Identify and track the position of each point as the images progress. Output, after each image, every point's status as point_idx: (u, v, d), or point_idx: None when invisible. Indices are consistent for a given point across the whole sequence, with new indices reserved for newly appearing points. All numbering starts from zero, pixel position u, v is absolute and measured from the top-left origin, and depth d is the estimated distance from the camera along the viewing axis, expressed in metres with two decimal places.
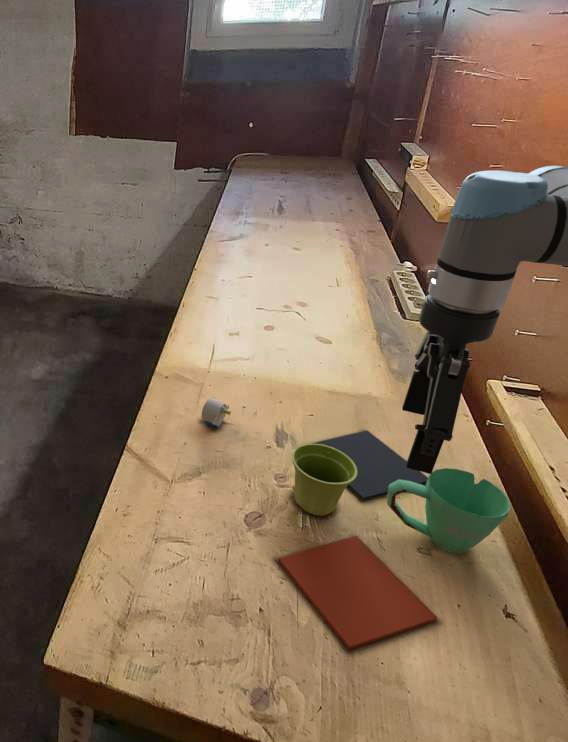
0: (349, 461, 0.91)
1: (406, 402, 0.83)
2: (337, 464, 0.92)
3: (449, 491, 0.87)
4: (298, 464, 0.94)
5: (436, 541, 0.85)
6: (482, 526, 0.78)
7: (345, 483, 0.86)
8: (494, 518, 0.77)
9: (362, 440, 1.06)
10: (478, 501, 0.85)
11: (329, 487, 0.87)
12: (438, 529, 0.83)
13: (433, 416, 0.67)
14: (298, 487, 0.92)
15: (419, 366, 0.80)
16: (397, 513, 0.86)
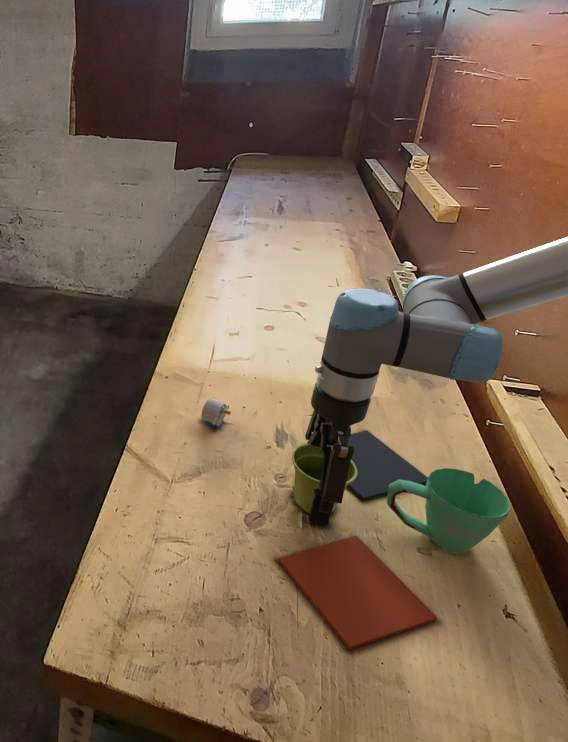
0: None
1: None
2: None
3: (449, 491, 0.87)
4: (298, 464, 0.94)
5: (436, 541, 0.85)
6: (482, 526, 0.78)
7: None
8: (494, 518, 0.77)
9: (362, 440, 1.06)
10: (478, 501, 0.85)
11: None
12: (438, 529, 0.83)
13: (328, 488, 0.83)
14: (298, 487, 0.92)
15: None
16: (397, 513, 0.86)
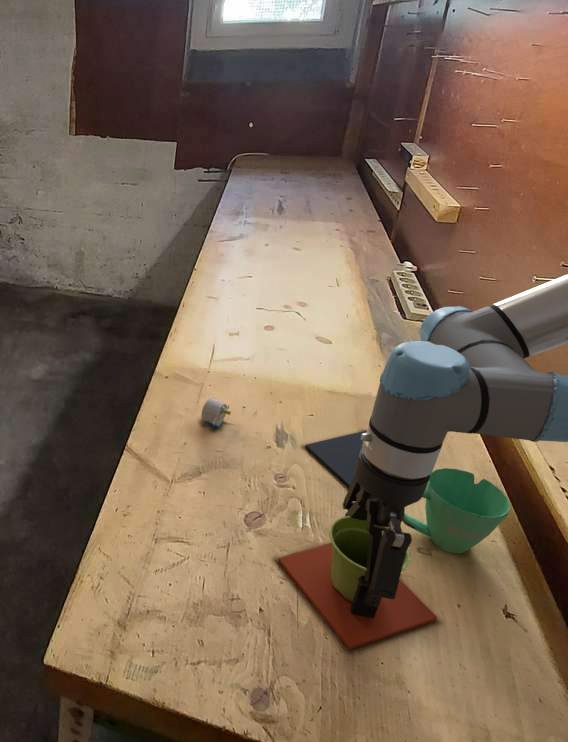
0: None
1: None
2: None
3: (449, 491, 0.87)
4: (336, 541, 0.79)
5: (436, 541, 0.85)
6: (482, 526, 0.78)
7: None
8: (494, 518, 0.77)
9: (362, 440, 1.06)
10: (478, 501, 0.85)
11: None
12: (438, 529, 0.83)
13: (378, 581, 0.68)
14: (337, 570, 0.77)
15: None
16: None
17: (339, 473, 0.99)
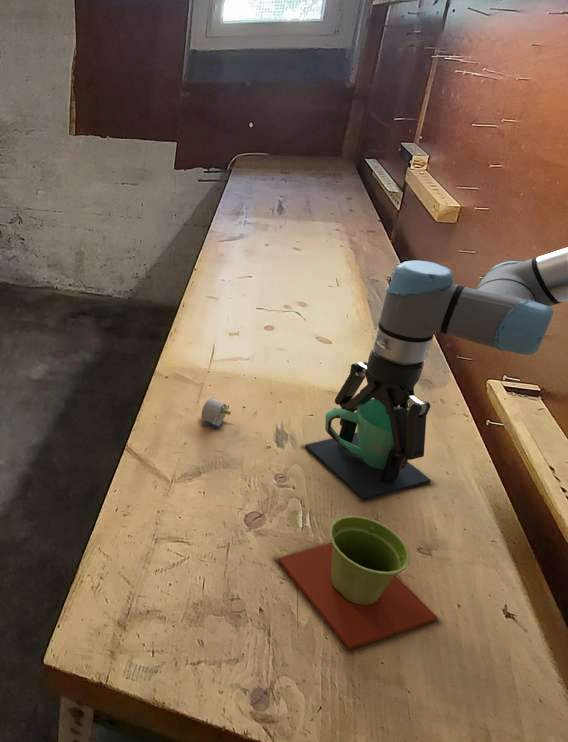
0: (398, 541, 0.76)
1: (342, 438, 1.04)
2: (383, 542, 0.78)
3: (378, 419, 1.02)
4: (336, 541, 0.79)
5: (366, 460, 1.00)
6: None
7: (397, 572, 0.71)
8: None
9: None
10: None
11: (376, 576, 0.72)
12: (366, 448, 0.98)
13: (414, 446, 0.90)
14: (337, 571, 0.77)
15: (350, 409, 1.01)
16: (333, 437, 1.01)
17: (339, 473, 0.99)
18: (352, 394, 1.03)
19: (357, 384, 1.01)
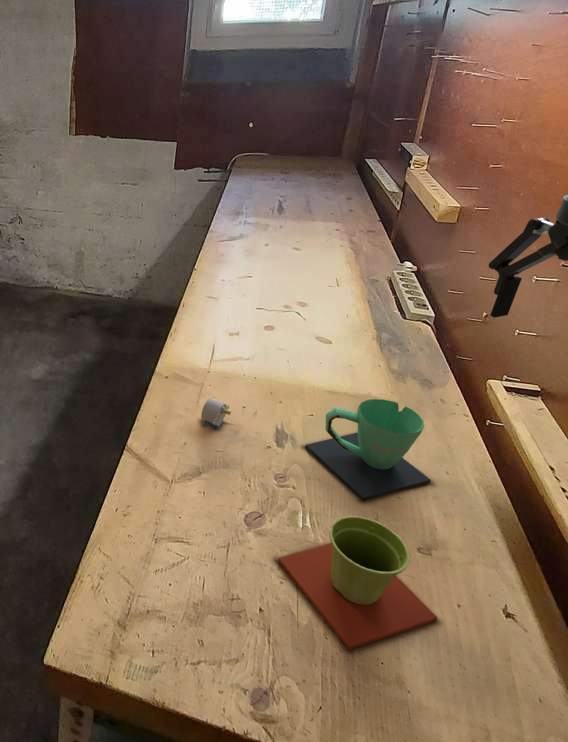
0: (398, 541, 0.76)
1: (498, 309, 0.89)
2: (383, 542, 0.78)
3: (378, 419, 1.02)
4: (336, 541, 0.79)
5: (366, 460, 1.00)
6: (399, 441, 0.94)
7: (397, 572, 0.71)
8: (408, 434, 0.93)
9: None
10: (401, 426, 1.00)
11: (376, 576, 0.72)
12: (366, 448, 0.98)
13: None
14: (337, 571, 0.77)
15: (513, 272, 0.86)
16: (333, 436, 1.01)
17: (339, 473, 0.99)
18: (514, 257, 0.87)
19: (527, 245, 0.85)
